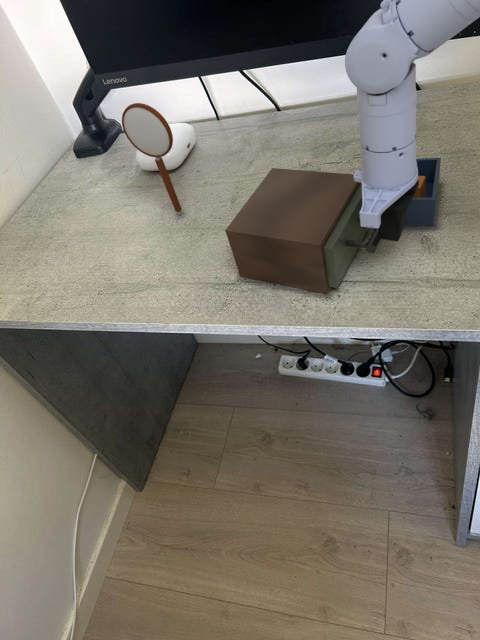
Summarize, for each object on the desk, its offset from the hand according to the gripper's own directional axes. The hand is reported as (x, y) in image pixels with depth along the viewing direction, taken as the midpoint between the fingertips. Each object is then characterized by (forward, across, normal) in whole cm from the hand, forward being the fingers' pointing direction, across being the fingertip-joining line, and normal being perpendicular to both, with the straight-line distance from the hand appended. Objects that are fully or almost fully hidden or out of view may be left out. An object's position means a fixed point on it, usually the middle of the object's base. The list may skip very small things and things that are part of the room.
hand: (391, 237), depth 62 cm
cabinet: (+5, 0, -13) cm, 14 cm away
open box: (+5, -13, -2) cm, 14 cm away
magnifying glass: (+4, -4, -38) cm, 39 cm away
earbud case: (+4, -20, -51) cm, 55 cm away
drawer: (+4, 0, -9) cm, 10 cm away
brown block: (+4, -13, -2) cm, 13 cm away
